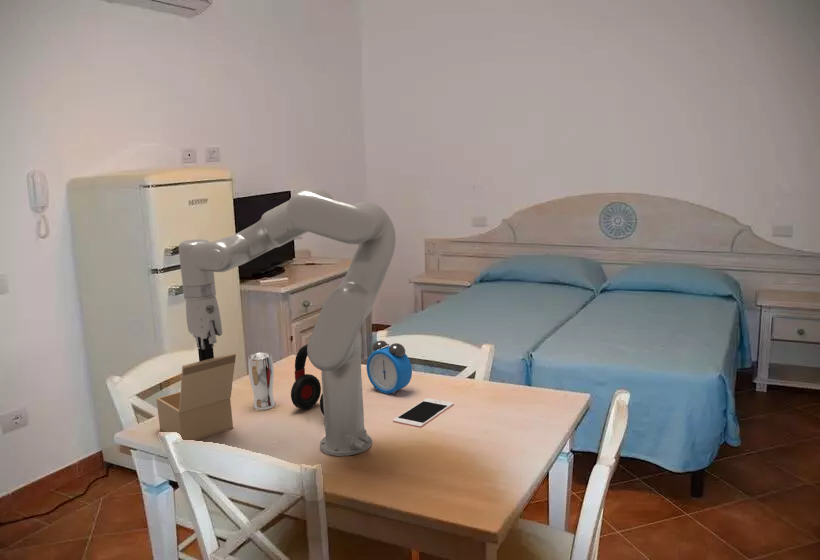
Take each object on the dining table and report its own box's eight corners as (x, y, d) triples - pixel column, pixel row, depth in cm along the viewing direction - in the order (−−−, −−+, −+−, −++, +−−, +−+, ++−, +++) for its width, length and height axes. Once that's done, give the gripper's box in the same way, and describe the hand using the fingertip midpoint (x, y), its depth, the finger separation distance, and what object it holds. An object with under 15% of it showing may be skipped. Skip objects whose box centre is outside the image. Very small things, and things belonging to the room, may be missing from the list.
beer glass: (279, 401, 201) (275, 352, 198) (272, 410, 194) (268, 359, 191) (256, 401, 202) (251, 352, 199) (248, 410, 195) (243, 359, 192)
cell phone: (454, 405, 193) (454, 402, 193) (420, 429, 178) (420, 426, 178) (427, 400, 197) (426, 397, 197) (392, 423, 183) (391, 419, 182)
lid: (229, 396, 181) (230, 397, 181) (179, 411, 172) (180, 412, 172) (234, 352, 175) (236, 354, 175) (182, 365, 166) (183, 367, 166)
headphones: (287, 412, 193) (281, 342, 189) (314, 401, 200) (309, 334, 196) (329, 426, 181) (324, 353, 178) (356, 414, 189) (352, 344, 185)
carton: (233, 428, 183) (230, 396, 181) (182, 445, 174) (178, 411, 172) (209, 414, 193) (205, 384, 192) (160, 430, 184) (156, 398, 183)
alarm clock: (367, 390, 207) (364, 341, 204) (380, 384, 212) (377, 336, 209) (400, 398, 199) (398, 348, 196) (414, 391, 204) (411, 342, 201)
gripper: (228, 292, 165) (235, 365, 169) (200, 284, 176) (207, 353, 180) (198, 297, 160) (206, 373, 164) (171, 289, 171) (179, 360, 175)
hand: (207, 363), depth 172 cm, fingers closed
